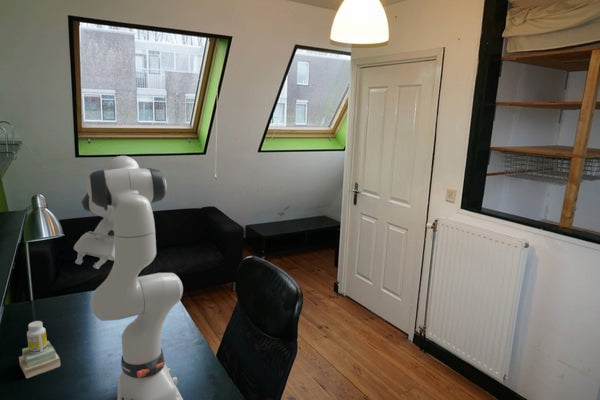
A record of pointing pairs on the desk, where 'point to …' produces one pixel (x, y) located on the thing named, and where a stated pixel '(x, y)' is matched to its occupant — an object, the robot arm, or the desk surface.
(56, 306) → the desk surface
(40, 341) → the supplement bottle
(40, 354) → the two-tone square platform
